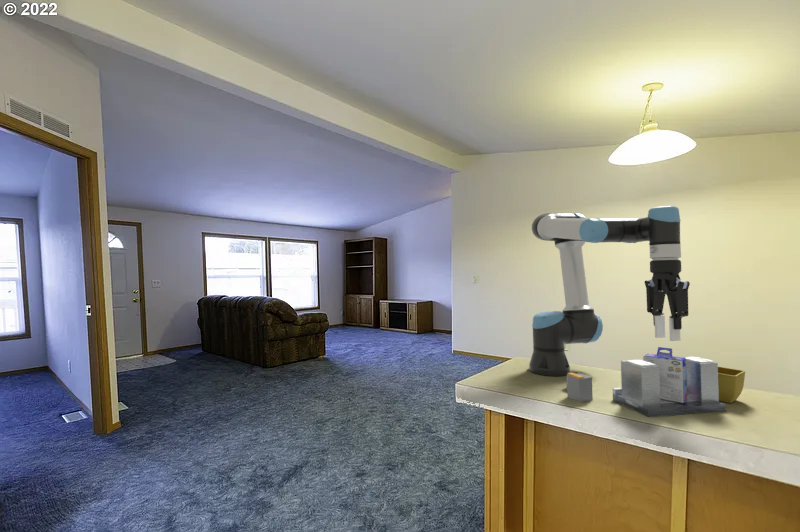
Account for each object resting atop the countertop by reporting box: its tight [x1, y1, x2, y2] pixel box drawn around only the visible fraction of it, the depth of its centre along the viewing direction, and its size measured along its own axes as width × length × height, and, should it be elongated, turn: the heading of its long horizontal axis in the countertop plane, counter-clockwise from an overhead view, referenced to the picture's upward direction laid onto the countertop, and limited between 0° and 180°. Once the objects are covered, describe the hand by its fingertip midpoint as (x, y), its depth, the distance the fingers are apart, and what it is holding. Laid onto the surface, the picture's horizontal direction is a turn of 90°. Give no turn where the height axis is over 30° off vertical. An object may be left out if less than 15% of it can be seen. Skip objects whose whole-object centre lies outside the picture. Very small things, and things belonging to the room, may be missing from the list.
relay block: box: [566, 371, 594, 403], centre depth 117 cm, size 5×5×8 cm
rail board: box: [612, 356, 727, 418], centre depth 110 cm, size 14×24×13 cm, turn 97°
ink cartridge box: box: [642, 346, 687, 403], centre depth 110 cm, size 10×6×14 cm, turn 45°
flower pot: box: [718, 366, 746, 404], centre depth 114 cm, size 9×9×9 cm
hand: (667, 338), depth 109 cm, fingers open, 4 cm apart
